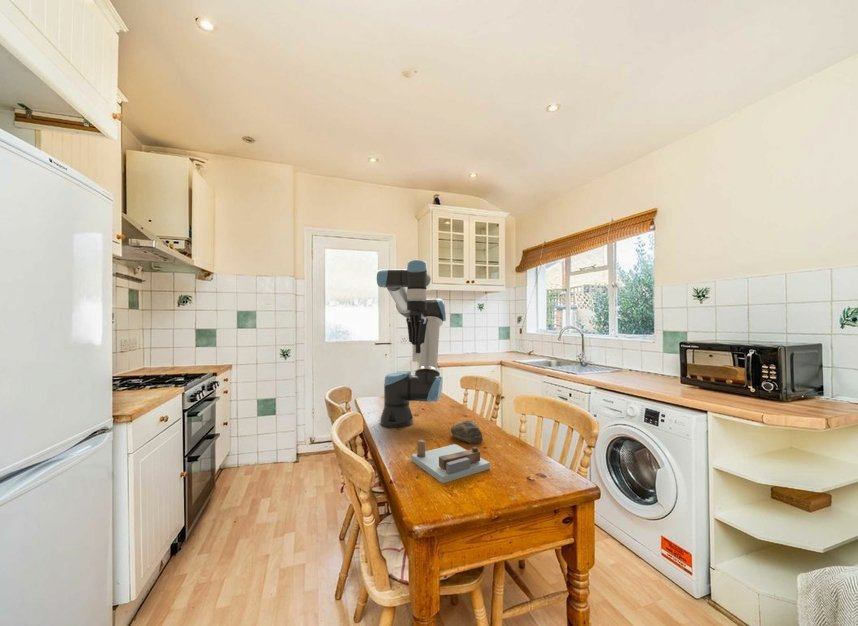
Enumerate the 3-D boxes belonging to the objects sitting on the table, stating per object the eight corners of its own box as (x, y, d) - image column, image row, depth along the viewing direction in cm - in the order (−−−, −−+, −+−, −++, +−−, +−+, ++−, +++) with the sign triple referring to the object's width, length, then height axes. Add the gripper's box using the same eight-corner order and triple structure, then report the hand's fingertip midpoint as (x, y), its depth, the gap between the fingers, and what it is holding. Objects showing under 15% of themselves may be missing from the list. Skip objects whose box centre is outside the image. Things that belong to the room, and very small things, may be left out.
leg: (443, 469, 108) (443, 457, 108) (438, 466, 110) (438, 453, 110) (480, 461, 114) (480, 448, 114) (474, 457, 117) (474, 445, 117)
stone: (444, 426, 146) (460, 408, 147) (461, 440, 149) (477, 423, 149) (453, 440, 133) (471, 421, 134) (471, 456, 136) (488, 437, 136)
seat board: (411, 460, 120) (411, 440, 120) (455, 449, 130) (455, 430, 130) (442, 483, 104) (442, 460, 104) (489, 468, 114) (490, 447, 114)
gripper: (434, 300, 131) (433, 362, 131) (416, 301, 142) (416, 358, 142) (416, 299, 127) (416, 364, 127) (400, 300, 138) (400, 360, 138)
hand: (416, 361), depth 134 cm, fingers closed
